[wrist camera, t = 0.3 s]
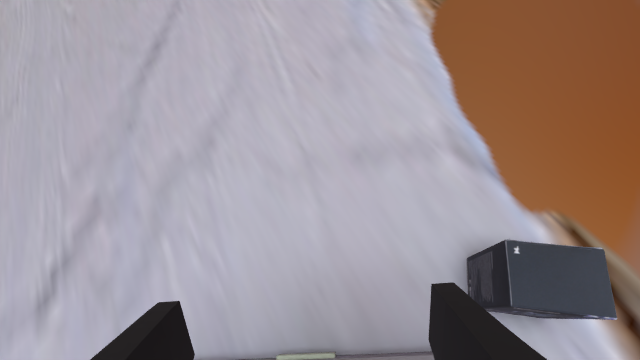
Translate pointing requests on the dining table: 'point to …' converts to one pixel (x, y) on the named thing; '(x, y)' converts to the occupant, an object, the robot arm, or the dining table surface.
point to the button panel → (353, 356)
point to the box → (542, 280)
